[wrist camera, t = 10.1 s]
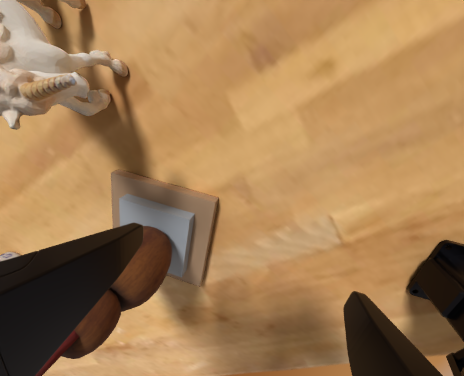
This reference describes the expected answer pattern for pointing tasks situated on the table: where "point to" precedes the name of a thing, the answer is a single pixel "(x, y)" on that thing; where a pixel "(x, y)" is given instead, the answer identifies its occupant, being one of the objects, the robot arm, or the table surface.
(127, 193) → the plinth
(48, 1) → the table surface
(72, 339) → the wooden figurine
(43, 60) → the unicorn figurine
